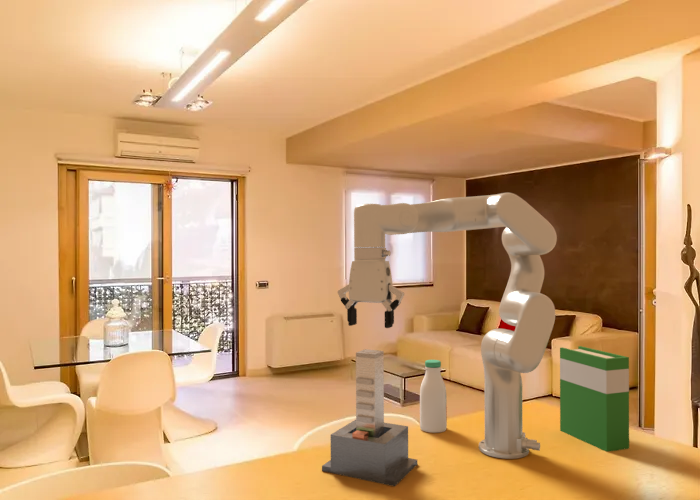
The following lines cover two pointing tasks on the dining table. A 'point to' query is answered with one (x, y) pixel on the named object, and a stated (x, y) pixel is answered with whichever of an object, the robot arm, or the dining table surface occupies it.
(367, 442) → the housing
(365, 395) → the column
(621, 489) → the dining table surface
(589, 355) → the hardback book
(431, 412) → the milk bottle
